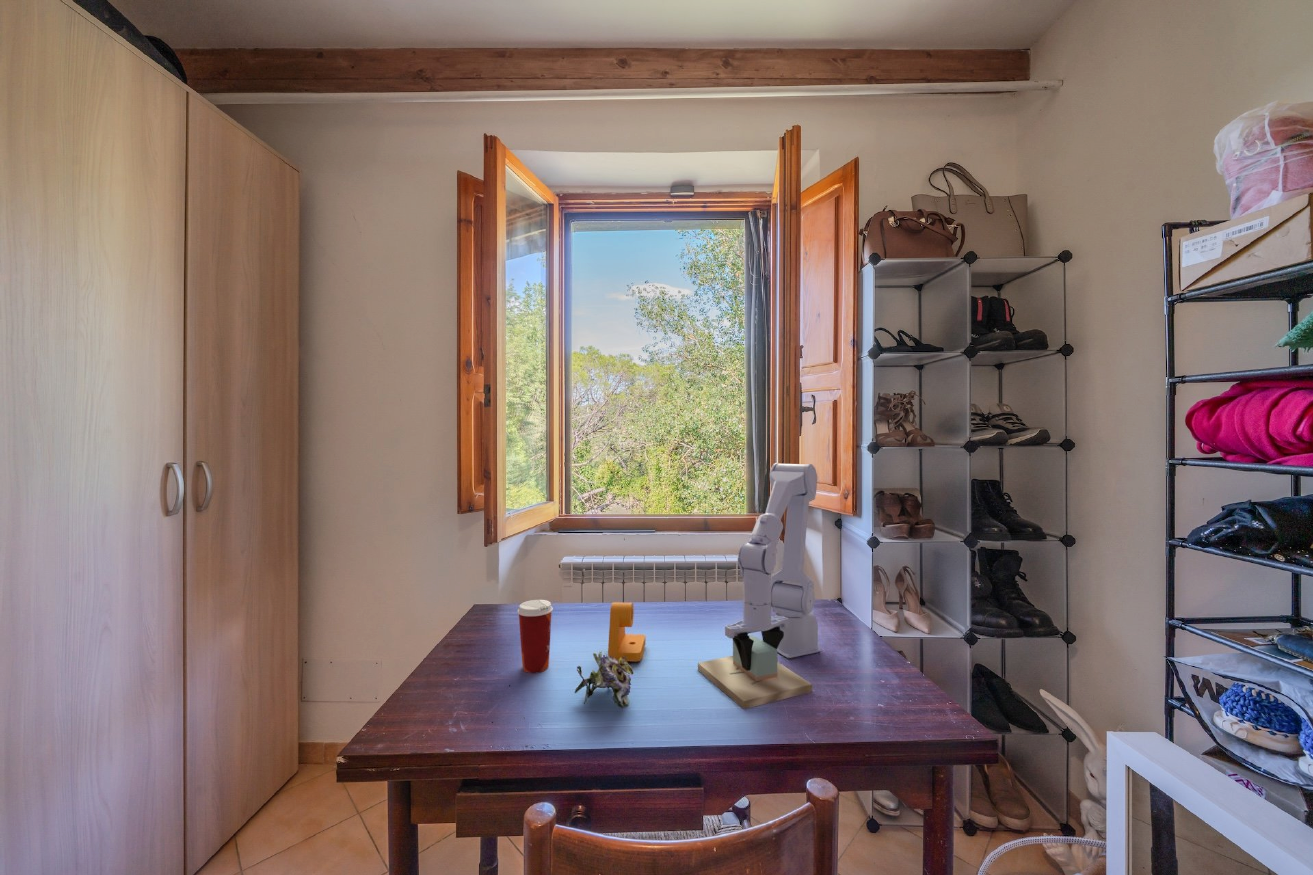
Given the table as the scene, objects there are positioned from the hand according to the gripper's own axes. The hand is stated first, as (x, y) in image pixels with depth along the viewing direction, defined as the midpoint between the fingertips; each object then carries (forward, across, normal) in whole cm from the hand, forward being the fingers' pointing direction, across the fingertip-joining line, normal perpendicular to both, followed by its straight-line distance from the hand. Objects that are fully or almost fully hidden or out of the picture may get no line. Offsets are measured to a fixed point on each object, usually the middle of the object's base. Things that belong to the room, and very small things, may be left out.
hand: (757, 665), depth 110 cm
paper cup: (+3, +41, -25) cm, 48 cm away
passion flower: (+3, +32, -4) cm, 33 cm away
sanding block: (+1, 0, -1) cm, 2 cm away
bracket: (+3, +20, -23) cm, 31 cm away
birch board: (+3, +1, 0) cm, 3 cm away
